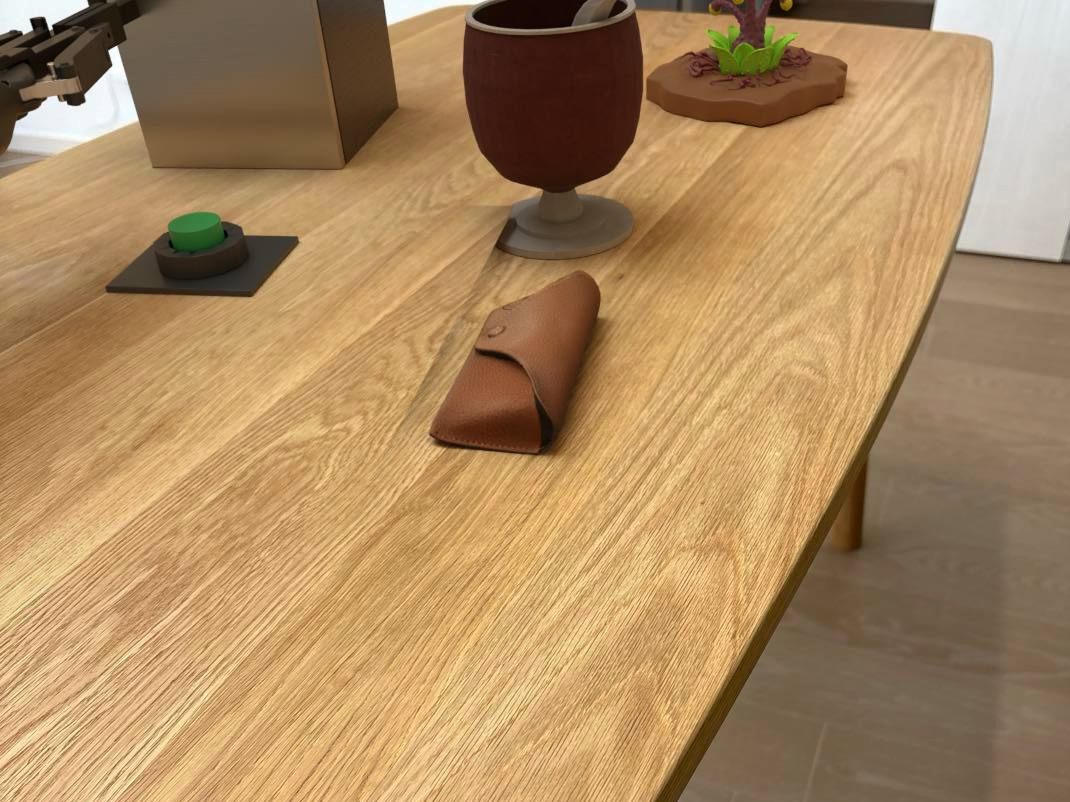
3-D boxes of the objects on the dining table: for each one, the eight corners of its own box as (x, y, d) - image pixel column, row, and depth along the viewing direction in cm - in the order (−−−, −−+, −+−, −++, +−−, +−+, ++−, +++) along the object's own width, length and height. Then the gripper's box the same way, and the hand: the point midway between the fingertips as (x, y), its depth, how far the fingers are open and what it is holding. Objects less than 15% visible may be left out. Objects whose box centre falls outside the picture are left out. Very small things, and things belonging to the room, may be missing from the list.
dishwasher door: (320, 191, 100) (263, -105, 85) (124, 188, 104) (36, -95, 89) (345, 164, 106) (295, -119, 90) (157, 163, 109) (79, -109, 94)
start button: (164, 253, 82) (158, 231, 81) (187, 232, 85) (181, 211, 84) (212, 254, 82) (206, 232, 81) (233, 233, 85) (228, 212, 84)
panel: (113, 312, 83) (96, 264, 81) (171, 257, 91) (157, 212, 88) (256, 317, 81) (244, 268, 78) (303, 261, 88) (293, 214, 86)
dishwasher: (346, 165, 106) (296, -122, 91) (158, 164, 110) (79, -111, 94) (399, 107, 119) (362, -150, 104) (230, 108, 123) (171, -140, 108)
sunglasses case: (487, 305, 79) (527, 231, 75) (570, 351, 80) (614, 281, 76) (422, 441, 65) (466, 360, 61) (523, 494, 66) (574, 419, 62)
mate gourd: (446, 232, 91) (415, -28, 79) (566, 185, 98) (555, -61, 85) (567, 285, 82) (554, 0, 69) (692, 230, 88) (699, -40, 76)
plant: (614, 105, 115) (613, -9, 108) (715, 59, 126) (719, -47, 119) (777, 136, 105) (786, 12, 98) (871, 83, 116) (886, -32, 109)
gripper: (-142, 180, 69) (51, 72, 87) (42, 183, 67) (202, 71, 85) (-199, 57, 65) (18, -30, 82) (-4, 56, 62) (176, -34, 80)
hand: (111, 21), depth 84 cm, fingers closed
